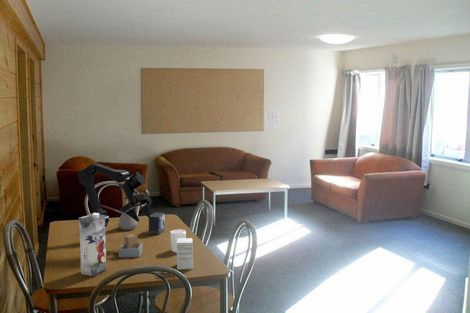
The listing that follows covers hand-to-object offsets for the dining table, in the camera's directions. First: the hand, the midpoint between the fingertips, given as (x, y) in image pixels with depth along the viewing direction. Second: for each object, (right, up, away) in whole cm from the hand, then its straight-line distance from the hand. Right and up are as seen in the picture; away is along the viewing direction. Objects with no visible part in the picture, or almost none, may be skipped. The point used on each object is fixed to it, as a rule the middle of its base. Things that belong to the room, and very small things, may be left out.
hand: (144, 219), depth 257 cm
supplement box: (+24, -19, -26) cm, 40 cm away
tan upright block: (-5, -16, -8) cm, 19 cm away
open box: (-5, -16, -8) cm, 19 cm away
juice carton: (-16, -19, -34) cm, 43 cm away
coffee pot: (-21, -10, +37) cm, 44 cm away
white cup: (+18, -16, -2) cm, 24 cm away
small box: (+2, -11, +31) cm, 33 cm away
